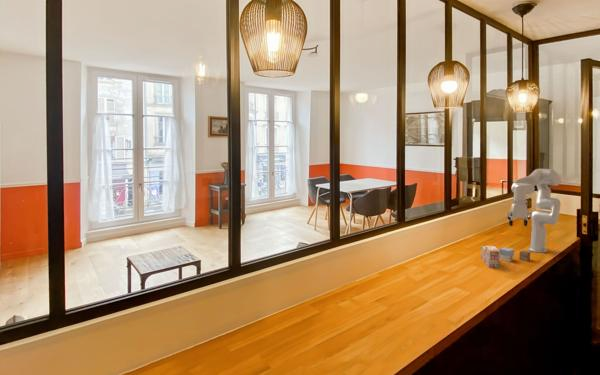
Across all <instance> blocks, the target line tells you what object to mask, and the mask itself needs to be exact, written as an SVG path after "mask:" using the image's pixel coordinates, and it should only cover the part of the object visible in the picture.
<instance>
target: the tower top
mask: <svg viewBox="0 0 600 375" xmlns="http://www.w3.org/2000/svg"><path fill="white" fill-rule="evenodd" d="M498 250H499V251H500V255H504V256H508V257H509V256H512V255H514V256H515V249H514V248H511V247H510V248H509V247H505V246H504V247H501V248H498Z"/></svg>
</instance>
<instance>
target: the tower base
mask: <svg viewBox="0 0 600 375" xmlns="http://www.w3.org/2000/svg"><path fill="white" fill-rule="evenodd" d="M514 258H515V254H514V255H512V256H509V257H508V256H504V255H500V258H499V261H500V260H501V261H504V262H508V263H509V262H512V261H514Z"/></svg>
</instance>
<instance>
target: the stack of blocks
mask: <svg viewBox="0 0 600 375" xmlns="http://www.w3.org/2000/svg"><path fill="white" fill-rule="evenodd" d="M480 249H481V250H480V251H481V253H480V254H481V255H480V257H481V258H480V259H481V260H482V261H483V262H484V263H485V265H486V266H487V267H488V268H490V269H499V268H500V260H499V258H500V251H499V248H497V247H496V246H495V245H485V246H483V245H482V246H481V248H480Z"/></svg>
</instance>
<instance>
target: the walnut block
mask: <svg viewBox="0 0 600 375" xmlns="http://www.w3.org/2000/svg"><path fill="white" fill-rule="evenodd" d="M518 258H519V259H518V260H520V261H523V262H528V261H530V260H531V251H529V250H528V251H527V250H521V251H520V250H519V257H518Z"/></svg>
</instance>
